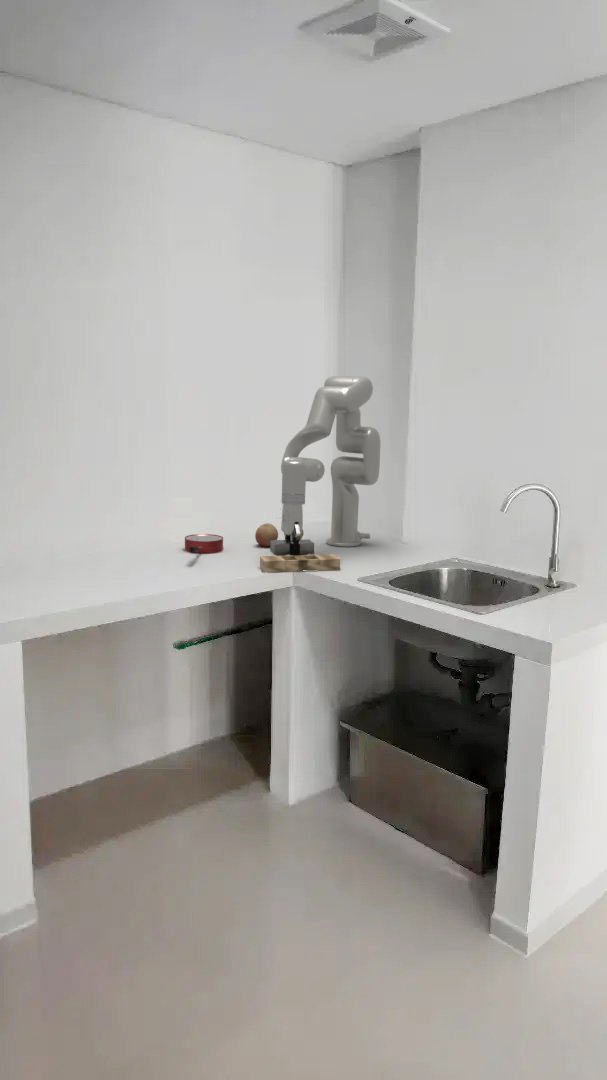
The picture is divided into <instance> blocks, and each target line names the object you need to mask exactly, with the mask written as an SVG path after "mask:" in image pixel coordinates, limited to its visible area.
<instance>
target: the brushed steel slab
mask: <svg viewBox="0 0 607 1080" xmlns="http://www.w3.org/2000/svg"><path fill="white" fill-rule="evenodd" d="M290 544H291V540H286V539H277V540H270V546H269V547H270V548H269V549H270V552H271V553H272V554H273V556H289V555H290ZM300 555H315V542H314V541H312V540H310V539H301V540H300Z"/></svg>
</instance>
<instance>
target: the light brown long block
mask: <svg viewBox="0 0 607 1080" xmlns="http://www.w3.org/2000/svg"><path fill="white" fill-rule="evenodd" d="M259 569H261V570H262V572H263V573H265V572H267V573H289V572H292V573H293V572H304V571H303V570H327V571H341V557H338V556H337V555H335V554H333V553H330V554H325V553H324V554H308V555H287V556H276V555H265V556H264V555H260V556H259Z"/></svg>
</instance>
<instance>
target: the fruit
mask: <svg viewBox="0 0 607 1080" xmlns="http://www.w3.org/2000/svg"><path fill="white" fill-rule="evenodd" d="M254 538H255V541H256V543H257V544H258V545H259V546H260V547H262V546H263V547H264V548H268V546H269V547H270V540H279V531H278V529H277V527H276V526H274V524H272V523H267V522H266V523H263V524H261V525H260V526H259V527H258V528H257V529H256V530H255V537H254ZM263 547H262V548H263Z"/></svg>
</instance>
